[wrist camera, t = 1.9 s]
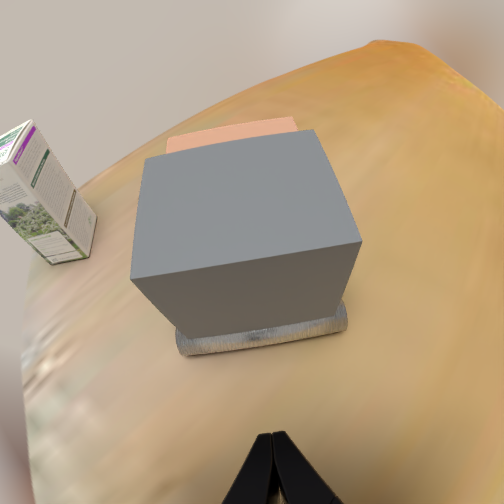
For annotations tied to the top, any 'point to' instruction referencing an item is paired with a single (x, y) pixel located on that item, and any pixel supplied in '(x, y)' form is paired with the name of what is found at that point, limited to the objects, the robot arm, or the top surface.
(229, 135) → the block
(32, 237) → the syrup box
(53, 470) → the top surface
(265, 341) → the roller track
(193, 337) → the grey block
